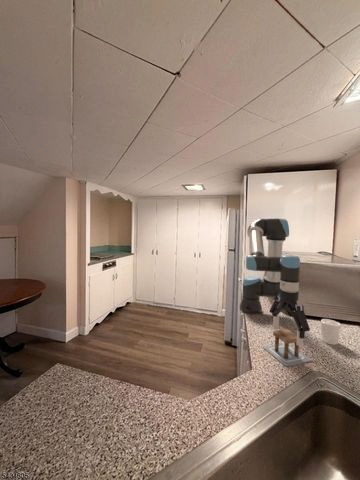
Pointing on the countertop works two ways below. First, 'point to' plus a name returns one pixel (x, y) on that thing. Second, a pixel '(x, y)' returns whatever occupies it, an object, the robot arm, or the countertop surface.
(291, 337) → the stool
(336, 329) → the white cup
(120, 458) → the countertop surface
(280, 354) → the mat
